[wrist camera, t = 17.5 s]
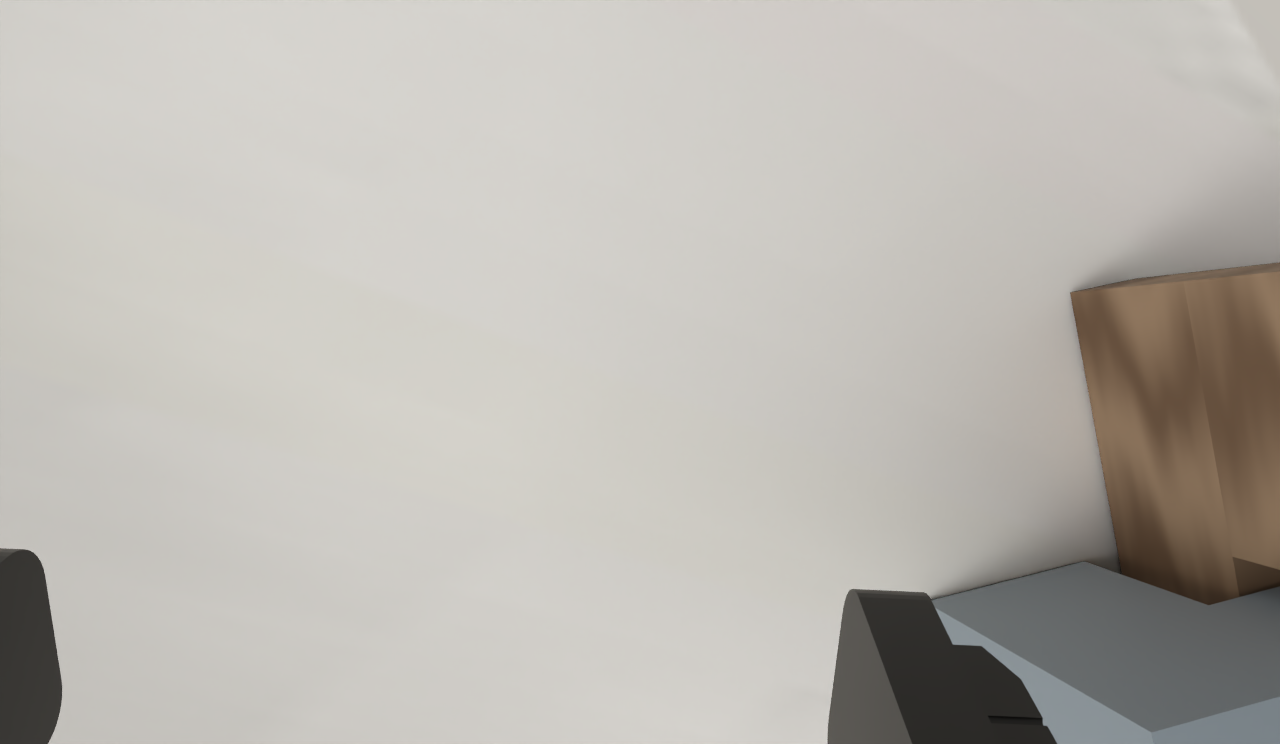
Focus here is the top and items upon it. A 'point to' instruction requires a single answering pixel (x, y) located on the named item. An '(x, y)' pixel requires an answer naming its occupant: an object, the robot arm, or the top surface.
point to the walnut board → (1189, 425)
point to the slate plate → (1130, 656)
